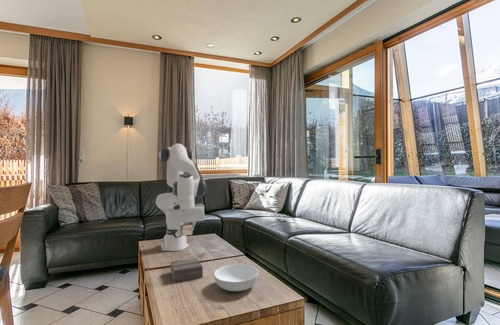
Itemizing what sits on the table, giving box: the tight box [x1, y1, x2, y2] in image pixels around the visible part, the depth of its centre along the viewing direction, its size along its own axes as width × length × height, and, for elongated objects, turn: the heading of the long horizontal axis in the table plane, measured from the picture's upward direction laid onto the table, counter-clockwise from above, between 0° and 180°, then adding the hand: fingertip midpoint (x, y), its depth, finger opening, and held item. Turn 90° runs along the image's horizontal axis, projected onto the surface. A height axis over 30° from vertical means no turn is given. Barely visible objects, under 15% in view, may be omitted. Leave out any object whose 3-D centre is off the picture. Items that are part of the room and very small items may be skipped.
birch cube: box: [180, 223, 193, 237], centre depth 140 cm, size 5×5×5 cm
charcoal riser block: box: [170, 257, 204, 284], centre depth 140 cm, size 14×14×6 cm
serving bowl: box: [213, 263, 259, 292], centre depth 126 cm, size 21×21×7 cm
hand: (186, 231), depth 140 cm, fingers closed on birch cube, 5 cm apart
